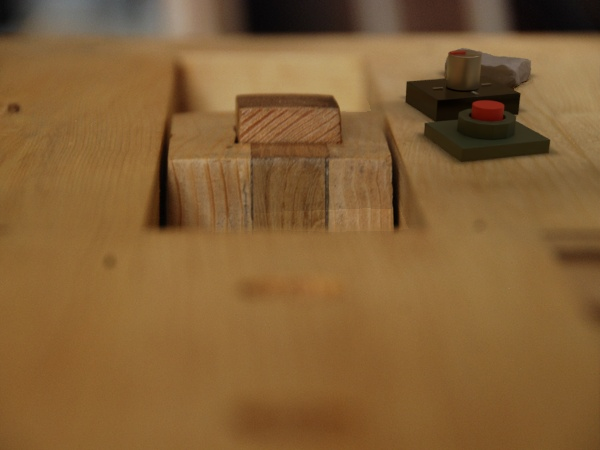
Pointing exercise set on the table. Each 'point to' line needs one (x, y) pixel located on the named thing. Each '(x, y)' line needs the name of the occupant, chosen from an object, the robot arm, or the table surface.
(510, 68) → the stone block
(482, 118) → the button
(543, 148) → the button box
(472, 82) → the dial
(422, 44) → the table surface
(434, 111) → the panel
